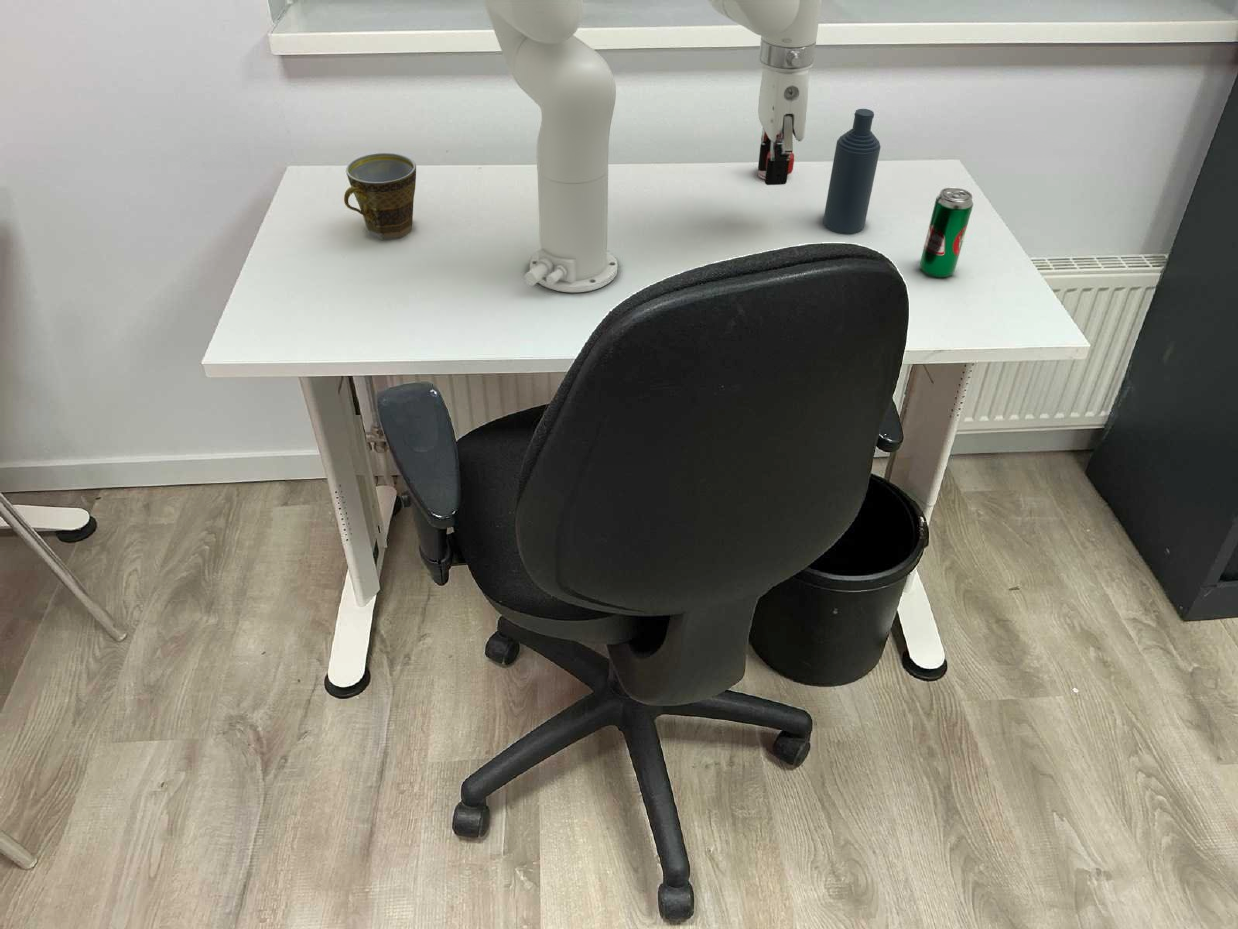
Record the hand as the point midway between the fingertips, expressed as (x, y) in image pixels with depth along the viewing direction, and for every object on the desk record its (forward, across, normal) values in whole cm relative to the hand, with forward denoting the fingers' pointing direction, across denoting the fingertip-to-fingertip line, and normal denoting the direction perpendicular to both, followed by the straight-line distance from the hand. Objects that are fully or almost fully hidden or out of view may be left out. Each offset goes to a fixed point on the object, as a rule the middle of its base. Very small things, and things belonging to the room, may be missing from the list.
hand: (772, 175), depth 149 cm
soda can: (+9, -15, -22) cm, 28 cm away
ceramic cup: (+8, +1, +59) cm, 59 cm away
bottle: (+8, 0, -12) cm, 15 cm away
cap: (-3, 0, -1) cm, 3 cm away
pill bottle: (+9, +17, -5) cm, 20 cm away
